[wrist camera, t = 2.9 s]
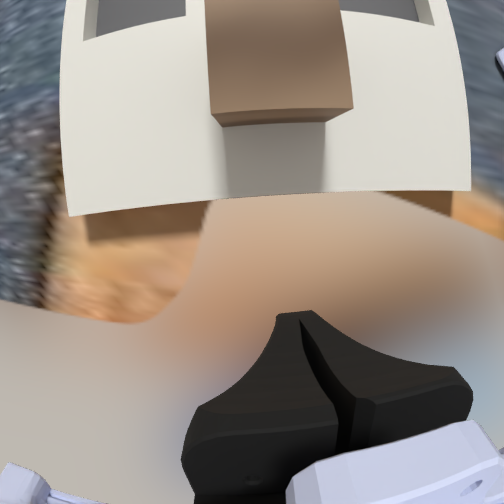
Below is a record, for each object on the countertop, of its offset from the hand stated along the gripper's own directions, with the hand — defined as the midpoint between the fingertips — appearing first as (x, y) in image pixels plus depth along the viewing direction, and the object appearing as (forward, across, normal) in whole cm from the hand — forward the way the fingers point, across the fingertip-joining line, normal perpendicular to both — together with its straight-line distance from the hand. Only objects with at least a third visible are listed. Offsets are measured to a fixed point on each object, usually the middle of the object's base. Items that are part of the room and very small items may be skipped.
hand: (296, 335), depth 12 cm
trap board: (+7, 0, -18) cm, 19 cm away
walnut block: (+5, 0, -10) cm, 12 cm away
